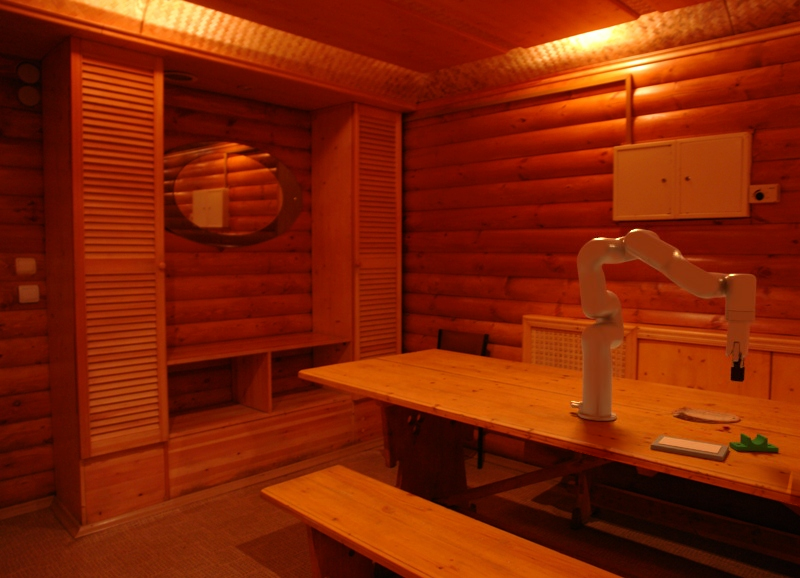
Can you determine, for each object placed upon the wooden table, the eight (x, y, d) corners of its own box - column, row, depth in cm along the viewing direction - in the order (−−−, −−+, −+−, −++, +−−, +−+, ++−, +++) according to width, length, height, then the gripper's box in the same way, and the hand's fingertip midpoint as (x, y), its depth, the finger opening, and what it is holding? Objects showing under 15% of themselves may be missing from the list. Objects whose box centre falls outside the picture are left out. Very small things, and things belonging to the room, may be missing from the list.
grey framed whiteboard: (650, 448, 170) (650, 443, 170) (660, 438, 180) (660, 434, 180) (722, 461, 160) (722, 455, 159) (728, 450, 169) (728, 445, 169)
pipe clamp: (770, 434, 172) (779, 438, 167) (770, 447, 172) (778, 452, 167) (729, 432, 173) (737, 437, 168) (729, 445, 173) (736, 450, 168)
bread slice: (747, 424, 198) (747, 413, 198) (712, 431, 190) (712, 419, 190) (697, 412, 214) (698, 402, 214) (663, 418, 206) (663, 407, 205)
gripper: (728, 314, 181) (726, 375, 182) (721, 317, 169) (718, 383, 170) (757, 315, 177) (755, 378, 178) (752, 319, 164) (749, 386, 165)
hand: (737, 380), depth 174 cm, fingers closed
